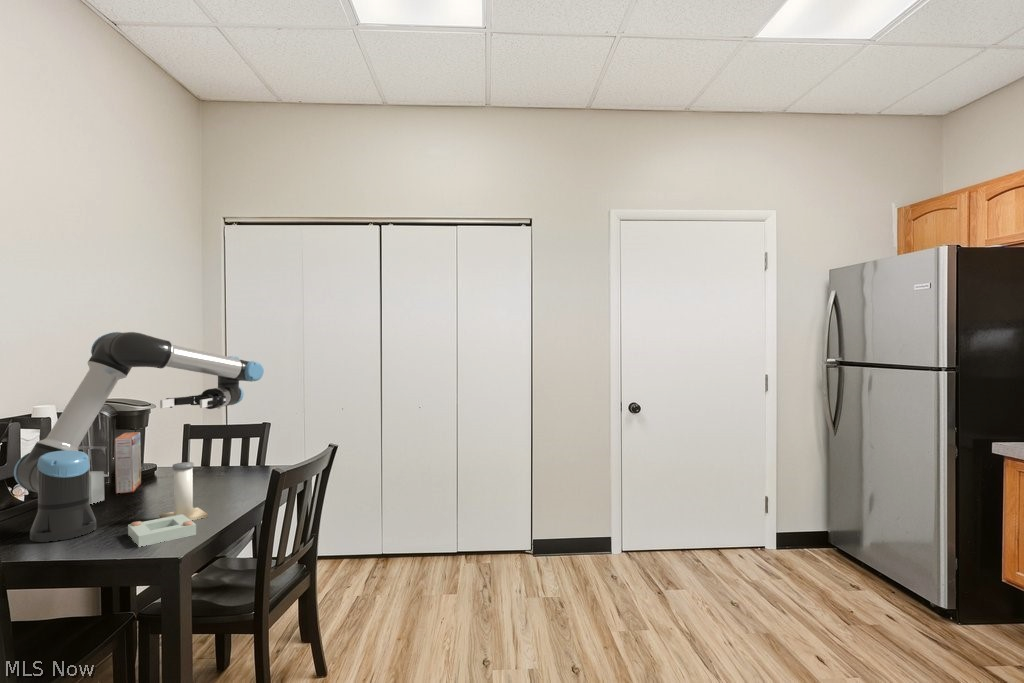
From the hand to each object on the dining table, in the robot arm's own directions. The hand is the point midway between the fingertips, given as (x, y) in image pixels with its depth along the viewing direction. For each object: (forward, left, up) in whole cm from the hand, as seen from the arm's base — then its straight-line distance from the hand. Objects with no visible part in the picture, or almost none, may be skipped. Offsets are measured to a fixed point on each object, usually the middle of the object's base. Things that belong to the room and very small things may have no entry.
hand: (181, 404), depth 188 cm
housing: (-12, -28, -35) cm, 46 cm away
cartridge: (-3, -14, -34) cm, 37 cm away
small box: (-22, +30, -35) cm, 51 cm away
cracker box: (-8, +42, -35) cm, 56 cm away
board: (-3, -14, -35) cm, 38 cm away
